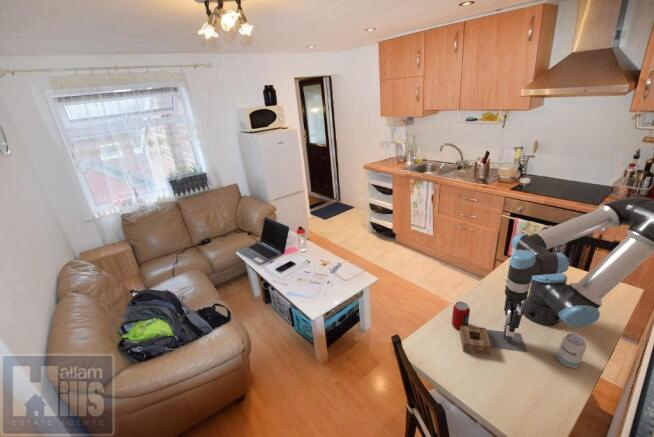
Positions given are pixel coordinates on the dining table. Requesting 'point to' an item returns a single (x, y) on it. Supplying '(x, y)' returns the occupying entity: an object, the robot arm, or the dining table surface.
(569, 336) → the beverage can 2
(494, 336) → the mat
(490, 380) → the dining table surface
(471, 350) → the walnut socket block
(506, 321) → the steel pin
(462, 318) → the beverage can
